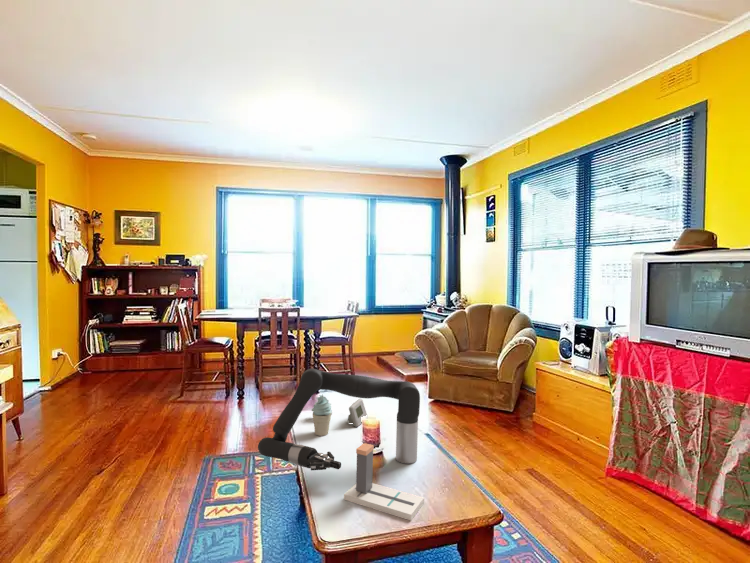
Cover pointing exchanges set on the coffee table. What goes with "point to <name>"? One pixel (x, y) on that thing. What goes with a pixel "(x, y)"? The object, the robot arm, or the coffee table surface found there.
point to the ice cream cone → (322, 416)
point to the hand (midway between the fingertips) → (340, 465)
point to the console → (387, 500)
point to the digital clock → (356, 412)
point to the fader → (364, 467)
